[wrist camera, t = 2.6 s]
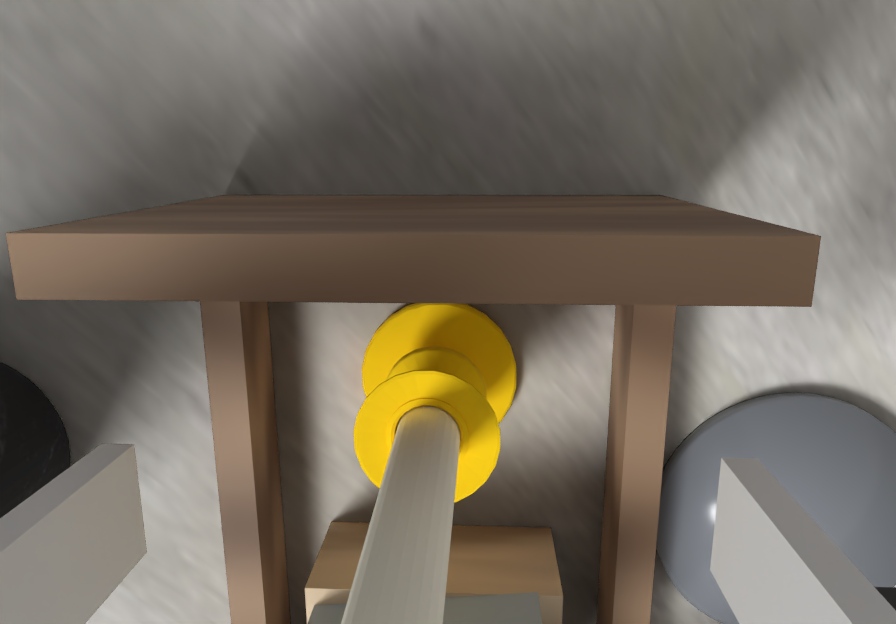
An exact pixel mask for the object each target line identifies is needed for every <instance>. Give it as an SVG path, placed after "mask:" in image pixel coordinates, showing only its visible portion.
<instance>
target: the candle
mask: <svg viewBox="0 0 896 624" xmlns="http://www.w3.org/2000/svg"><path fill="white" fill-rule="evenodd" d="M362 378H363V389H364V392H365V395H366V399H365V401H364V403H363V405H362V407H361V408H360V410H359V412H358V414H357V418H356V423H355V427H354V446H355V452H356V454H357V457H358V460H359V463H360V466H361V467H362V469H363V470H364V472H365V473H366V475H367V476H368V478H369V479H370V480H371V482H373V483H374V484H375V485H376V486H377V487H378V488H379V489H380V490H379V493H378V497H377V500H376V504H375V507H374V511H373V514H372V518H371V521H370V525H369V528H368V532H367V535H366V538H365V542H364V545H363V549H362V552H361V556H360V559H359V563H358V566H357V570H356V573H355V577H354V580H353V584H352V587H351V591H350V594H349V597H348V601H347V604H346V608H345V611H344V615H343V618H342V622H341V624H443V615H444V605H445V594H446V584H447V573H448V563H449V552H450V542H451V531H452V521H453V510H454V502H457V501H459V500H461V499H463V498H465V497H467V496H469V495H471V494H473V493H474V492H475V491H476V490H477V489H478V488H479V487H480V486H481V485H483V484H484V483H485V482H486V480H487V479H488V477H489V476H490V474H491V472H492V471H493V469H494V468H495V466H496V462H497V459H498V455H499V452H500V428H499V425H498V424H499V423H500V422H501V421H502V419H503V418H504V416H505V414H506V413H507V411H508V409H509V408H510V406H511V404H512V400H513V397H514V393H515V390H516V362H515V359H514V355H513V352H512V348H511V345H510V343H509V342H508V340H507V338H506V337H505V335H504V333H503V332H502V330H501V329H500V327H499V326H497V325H496V324H495V323H494V322H493V321H492V320H491V319H490V318H489V317H488V316H487V315H486V314H484V313H482V312H480V311H479V310H477V309H475V308H473V307H471V306H469V305H468V304H460V303H414V304H411V305H407V306H406V307H404V308H402V309H401V310H399V311H397V312H396V313H394V314H392V315H390V316H389V318H388V319H387V320H386V321H385V322H384V323H383V324H382V325H381V326H380V327H379V328H378V329H377V330H376V332H375V334H374V336H373V338H372V339H371V341H370V343H369V345H368V347H367V349H366V352H365V357H364V361H363V366H362Z"/></svg>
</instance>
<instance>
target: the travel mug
mask: <svg viewBox="0 0 896 624" xmlns="http://www.w3.org/2000/svg"><path fill="white" fill-rule="evenodd" d="M69 466H70V452H69V444H68V439H67V436H66V432H65V429H64V427H63V424H62V422H61V419H60V418H59V416H58V414H57V412H56V410H55V409H54V407H53V406H52V404H51V403H50V402H49V400H48V399H47V397H46V396H45V395H44V394H43V393H42V392H41V391H40V390H39V389H38V387H36V386H35V385H34V384H33V383H32V382H31V381H30V380H28V379H27V378H26V377H24V376H23V375H22V374H20V373H19V372H17V371H16V370H14V369H12V368H10V367H9V366H7V365H5V364H3V363H0V518H2V517H3V516H4V515H6V514H7V513H8V512H10V511H11V510H12V509H14V508H15V507H16V506H18V505H19V504H21V503H22V502H23V501H25V500H26V499H27V498H29V497H30V496H31V495H33V494H34V493H35V492H37V491H38V490H40V489H41V488H42V487H44V486H45V485H46V484H48V483H49V482H50V481H52V480H53V479H54V478H56V477H57V476H58V475H60V474H61V473H63V472H64V471H65V470H67V469H68V468H69Z"/></svg>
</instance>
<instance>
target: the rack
mask: <svg viewBox="0 0 896 624" xmlns="http://www.w3.org/2000/svg"><path fill="white" fill-rule="evenodd" d="M6 239H7V245H8V251H9V257H10V263H11V269H12V275H13V281H14V287H15V293H16V299H17V300H124V301H200V306H201V317H202V327H203V337H204V348H205V358H206V368H207V379H208V389H209V399H210V409H211V420H212V430H213V440H214V451H215V461H216V471H217V481H218V492H219V502H220V512H221V523H222V533H223V543H224V554H225V564H226V574H227V584H228V595H229V605H230V615H231V624H291V621H290V607H289V593H288V580H287V566H286V552H285V538H284V524H283V510H282V496H281V482H280V468H279V454H278V440H277V426H276V412H275V398H274V384H273V370H272V356H271V342H270V328H269V314H268V302H348V303H460V304H572V305H616V309H615V325H614V342H613V358H612V375H611V391H610V408H609V424H608V441H607V457H606V474H605V490H604V507H603V523H602V540H601V556H600V573H599V589H598V606H597V622H596V624H650V613H651V601H652V590H653V578H654V566H655V554H656V542H657V530H658V518H659V506H660V494H661V482H662V470H663V458H664V446H665V434H666V422H667V410H668V398H669V386H670V374H671V362H672V350H673V338H674V326H675V314H676V305H683V306H795V307H811V306H812V299H813V291H814V284H815V276H816V269H817V262H818V254H819V247H820V239H821V236H818V235H815V234H811V233H807V232H803V231H799V230H795V229H791V228H787V227H783V226H779V225H775V224H771V223H768V222H764V221H760V220H756V219H752V218H748V217H744V216H740V215H736V214H732V213H728V212H725V211H721V210H717V209H713V208H709V207H705V206H701V205H697V204H693V203H689V202H685V201H681V200H678V199H674V198H670V197H666V196H662V195H221V196H216V197H210V198H204V199H198V200H193V201H187V202H181V203H176V204H170V205H164V206H158V207H153V208H147V209H141V210H136V211H130V212H124V213H118V214H113V215H107V216H101V217H95V218H90V219H84V220H78V221H73V222H67V223H61V224H55V225H50V226H44V227H38V228H33V229H27V230H21V231H15V232H10V233H6Z"/></svg>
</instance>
